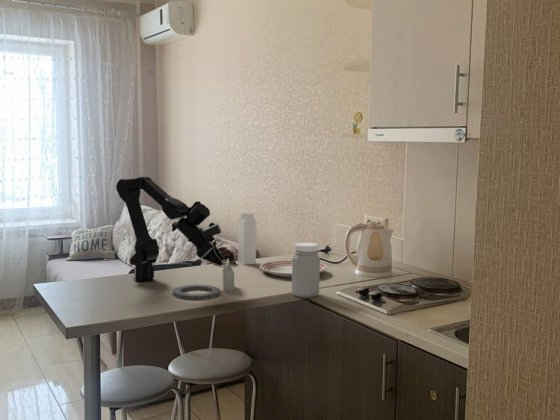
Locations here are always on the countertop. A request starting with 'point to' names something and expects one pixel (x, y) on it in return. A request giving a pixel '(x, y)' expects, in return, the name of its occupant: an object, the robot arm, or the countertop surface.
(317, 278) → the jar
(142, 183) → the robot arm
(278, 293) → the countertop surface
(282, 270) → the dinner plate
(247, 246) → the milk
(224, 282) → the tea bag
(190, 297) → the ring
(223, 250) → the pottery mug
